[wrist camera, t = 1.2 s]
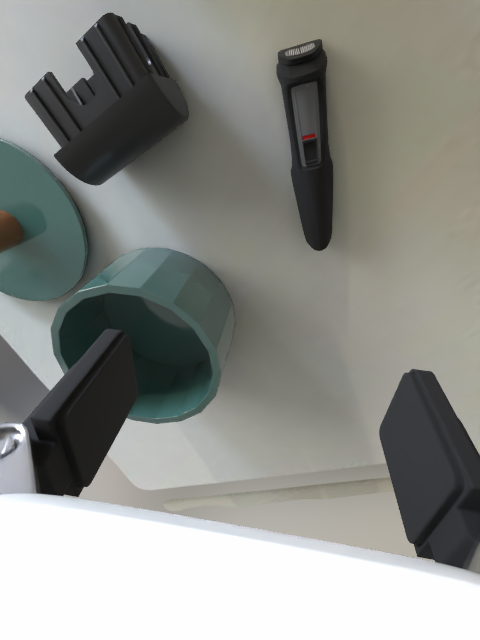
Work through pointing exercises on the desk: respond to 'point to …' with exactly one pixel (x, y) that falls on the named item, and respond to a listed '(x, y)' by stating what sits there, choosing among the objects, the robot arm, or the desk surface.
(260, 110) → the desk surface
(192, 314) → the canister
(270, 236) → the desk surface
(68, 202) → the lid
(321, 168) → the electric trimmer
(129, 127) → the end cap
